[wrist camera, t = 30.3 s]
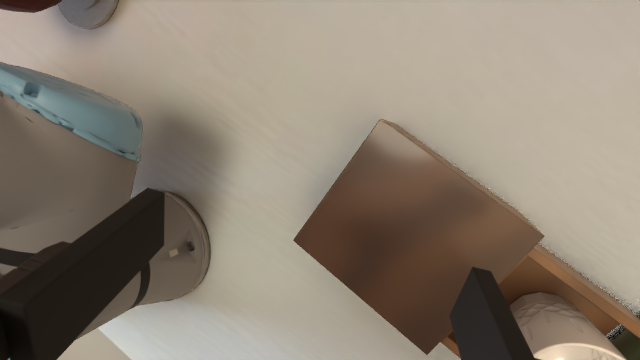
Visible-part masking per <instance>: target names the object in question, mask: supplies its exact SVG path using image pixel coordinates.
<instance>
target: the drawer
mask: <svg viewBox="0 0 640 360" xmlns="http://www.w3.org/2000/svg"><path fill="white" fill-rule="evenodd" d="M498 286H499V288H500V290H501V292H502V294H503V296H504V298H505V300H506V302H507V304H508V306H510V304H512V303H513V302H514V301H516V300H517V299H519V298H520V297H521V296H523V295H528V294H533V293H538V292H542V293H548V294H553V295H558V296H560V297H562V298H563V299H565V300H566V301H568V302H570V303H571V304H573V305H574V306H576V307H577V309H578V310H579V311H580V312H581V313H582V314H583V315H584V316H585V317H586V318H588V319H589V320H590V321H591V322H592V323H593V324H594V325H595V326H596V327H597V328H598V329H599V330H600V331H601V332H602V333H603V334H604V335H605V336H606V335H607V334H608V333H609V332H610V331H612V330H613V329H614V328H615V327H616V326H617V325H619V324H621V325H622V326H624V327H625V328H626V330H625V331H624V332H622V333H621V334H620V335H619V336H618V337H616V338H615V339H614V340H613V341H612V342H611V343H612V344H613V345H614V346H615V347H616V348H617V349H618V350H619V351H620V352H621V353H622V354H623V356H624V357H625V358H626V359H627V360H640V318H638V317H637V316H635V315H634V314H633V313H632V312H631V311H630V310H629V309H628V308H626V307H625V306H624V305H622V304H621V303H619V302H618V301H617V300H615V299H614V298H613V297H611V296H610V295H608V294H607V293H606V292H604V291H603V290H602V289H600V288H599V287H597V286H596V285H595V284H593V283H592V282H590V281H589V280H588V279H586V278H585V277H584V276H582V275H581V274H579V273H578V272H577V271H575V270H574V269H573V268H571V267H570V266H568V265H567V264H566V263H564V262H563V261H562V260H560V259H559V258H557V257H556V256H555V255H553V254H552V253H550V252H549V251H548V250H546V249H545V248H544V247H542V246H541V245H539V244H538V243H537V244H536V245H535V246H534V247H533V248H532V249H531V250H530V251H529V252H528V253H527V254H526V255H525V256H524V257H523V258H522V259H521V260H520V262H519V263H518V264H517V265H516V266H515V267H514V268H513V269H512V270H511V271H510V272H509V273H508V274H507V275H506V276H505V277H504V278H503V279H502V280H501V281H500V282H499V283H498ZM440 342H442V343H443V344H444V345H445V346H446V347H447V348H449V349H450V350H451V351H452V352H453V353H455V354H456V355H457V356H458V357H459V358H461V357H460V354H459V350H458V346H457V343H456V339H455V336H454V332H453V329H452V330H451V331H450V332H449V333H448V334H447V335H446V336H445V337H444V338H443V339H442V340H441V341H440Z"/></svg>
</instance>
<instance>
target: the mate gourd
mask: <svg viewBox="0 0 640 360" xmlns="http://www.w3.org/2000/svg"><path fill="white" fill-rule="evenodd" d="M118 1H119V0H0V9H3V10H9V11H16V12H31V13H34V12H38V11H42V10H44V9H47V8H49V7H52V6H54V5H56V4H58V6H59V9H60V11H61V12H62V14H63V15H64V17H65V18H66V19H67V20H68V21H69V22H70V23H72V24H73V25H75V26H78V27H81V28H84V29H93V28H97V27H99V26H101V25H103V24H104V23H105V22H106V21H107V20H108V19H109V18H110V17H111V15H112V14H113V12H114V10H115V8H116V7H117V4H118Z"/></svg>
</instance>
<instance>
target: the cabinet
mask: <svg viewBox="0 0 640 360" xmlns="http://www.w3.org/2000/svg"><path fill="white" fill-rule="evenodd" d="M543 237H544V235H543V234H542V233H541V232H540V231H539V230H538V229H537V228H536V227H535V226H534V225H533V224H531V223H530V222H529V221H528V220H527V219H526V218H525V217H524V216H523V215H522V214H521V213H520V212H518V211H517V210H515V209H514V208H513V207H511V206H510V205H508V204H507V203H506V202H504V201H503V200H501V199H500V198H499V197H497V196H496V195H494V194H493V193H492V192H490V191H489V190H487V189H486V188H485V187H483V186H482V185H480V184H479V183H478V182H476V181H475V180H473V179H472V178H471V177H469V176H468V175H466V174H465V173H464V172H462V171H461V170H459V169H458V168H457V167H455V166H454V165H452V164H451V163H450V162H448V161H447V160H445V159H444V158H443V157H441V156H440V155H438V154H437V153H436V152H434V151H433V150H431V149H430V148H428V147H427V146H426V145H424V144H423V143H421V142H420V141H419V140H417V139H416V138H414V137H413V136H412V135H410V134H409V133H407V132H406V131H405V130H403V129H402V128H400V127H399V126H398V125H396V124H395V123H392V122H389V121H386V120H383V119H380V120H379V122H378V123H377V124H376V126H375V127H374V128H373V130H372V131H371V133H370V134H369V135H368V137H367V138H366V140H365V141H364V142H363V144H362V145H361V147H360V148H359V149H358V151H357V152H356V154H355V155H354V156H353V158H352V159H351V161H350V162H349V163H348V165H347V166H346V168H345V169H344V170H343V172H342V173H341V174H340V176H339V177H338V179H337V180H336V181H335V183H334V184H333V186H332V187H331V188H330V190H329V191H328V193H327V194H326V195H325V197H324V198H323V200H322V201H321V202H320V204H319V205H318V207H317V208H316V209H315V211H314V212H313V214H312V215H311V216H310V218H309V219H308V221H307V222H306V223H305V225H304V226H303V227H302V229H301V230H300V232H299V233H298V234H297V236H296V237H295V239H294V241H295V242H296V243H297V244H298V245H299V246H300V247H302V248H303V249H304V250H305V251H306V252H307V253H309V254H310V255H311V256H312V257H313V258H314V259H316V260H317V261H318V262H319V263H320V264H321V265H323V266H324V267H325V268H326V269H327V270H328V271H330V272H331V273H332V274H333V275H334V276H335V277H337V278H338V279H339V280H340V281H341V282H342V283H344V284H345V285H346V286H347V287H348V288H349V289H351V290H352V291H353V292H354V293H355V294H356V295H358V296H359V297H360V298H361V299H362V300H363V301H365V302H366V303H367V304H368V305H369V306H370V307H372V308H373V309H374V310H375V311H376V312H377V313H379V314H380V315H381V316H382V317H383V318H384V319H386V320H387V321H388V322H389V323H390V324H391V325H393V326H394V327H395V328H396V329H397V330H398V331H400V332H401V333H402V334H403V335H404V336H405V337H407V338H408V339H409V340H410V341H411V342H412V343H414V344H415V345H416V346H417V347H418V348H419V349H421V350H422V351H423V352H424V353H425V354H426V355H427V354H428V353H429V352H430V351H431V350H432V349H433V348H434V347H435V346H436V345H437V344H438V343H439V342H440V341H441V340H442V339H443V338H444V337H445V336H446V335H447V334H448V333H449V332H450V331H451V330H452V329H453V328H452V325H451V321H450V317H449V315H450V313H451V311H452V309H453V307H454V304H455V302H456V300H457V298H458V296H459V294H460V292H461V290H462V288H463V286H464V283H465V281H466V279H467V277H468V275H469V273H470V271H471V269H472V267H476V268H480V269H484V270H489V271H491V272H492V274H493V276H494V278H495V280H496V282H497V284H498V283H499V282H500V281H501V280H502V279H503V278H504V277H505V276H506V275H507V274H508V273H509V272H510V271H511V270H512V269H513V268H514V267H515V266H516V265H517V264H518V263H519V262H520V260H521V259H522V258H523V257H524V256H525V255H526V254H527V253H528V252H529V251H530V250H531V249H532V248H533V247H534V246H535V245H536V244H537V243H538V242H539V241H540V240H541V239H542V238H543Z"/></svg>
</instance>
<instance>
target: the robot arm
mask: <svg viewBox="0 0 640 360" xmlns="http://www.w3.org/2000/svg"><path fill="white" fill-rule="evenodd" d="M142 131H143V124H142V120H141V118H140V117H139V115H138V114H137V113H136V112H135V111H134V110H133V109H132V108H130V107H129V106H127V105H125V104H123V103H122V102H119V101H117V100H115V99H113V98H111V97H108V96H106V95H104V94H101V93H99V92H96V91H94V90H91V89H88V88H86V87H83V86H80V85H77V84H75V83H72V82H69V81H66V80H63V79H60V78H57V77H54V76H51V75H48V74H45V73H41V72H38V71H35V70H31V69H28V68H24V67H20V66H13V65H9V64H5V63H2V62H0V360H57V359H58V357H59V356H60V355H61V354H62V353H63V352H64V351H65V350H66V349H67V348H68V347H69V346H70V345H71V344H72V343H73V341H74V340H76V339H78V338H80V337H81V336H83V335H85V334H87V333H89V332H90V331H92V330H94V329H96V328H97V327H99V326H101V325H103V324H105V323H106V322H108V321H110V320H112V319H113V318H115V317H117V316H119V315H121V314H122V313H124V312H126V311H128V310H129V309H131V308H133V307H135V306H138V305H144V304H151V303H157V302H162V301H170V300H173V299H176V298H179V297H181V296H183V295H185V294H187V293H188V292H190V291H192V290H193V289H194V288H196V287H197V286H198V285H199V284H200V282H201V281H202V279H203V278H204V276H205V274H206V271H207V268H208V264H209V258H210V246H209V239H208V235H207V232H206V229H205V226H204V224H203V222H202V220H201V218H200V216H199V215H198V213H197V212H196V211H195V209H194V208H193V207H192V206H191V205H190V204H189V203H188V202H186V201H185V200H184V199H182V198H181V197H179V196H177V195H175V194H173V193H169V192H164V191H158V190H153V189H149V188H147V189H145V190H144V191H143V192H141V193H140V194H139V195H137V196H136V197H134V198H132V199H131V200H130V197H131V192H132V188H133V183H134V178H135V174H136V169H137V164H138V161H140V159H141V155H140V154H139V151H140V144H141V138H142ZM449 317H450V321H451V325H452V328H453V332H454V336H455V339H456V343H457V346H458V350H459V354H460V357H461V360H541V359H537V358H534V356H533V354H532V352H531V350H530V348H529V346H528V344H527V342H526V340H525V338H524V336H523V334H522V332H521V330H520V328H519V326H518V324H517V322H516V320H515V318H514V316H513V314H512V312H511V310H510V308H509V306H508V304H507V302H506V300H505V298H504V296H503V294H502V292H501V290H500V288H499V286H498V284H497V282H496V280H495V278H494V276H493V274H492V272H491V271H489V270H484V269H480V268H476V267H472V269H471V271H470V273H469V275H468V277H467V279H466V281H465V283H464V286H463V288H462V290H461V292H460V294H459V296H458V298H457V300H456V302H455V304H454V307H453V309H452V311H451V313H450V315H449Z"/></svg>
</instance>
